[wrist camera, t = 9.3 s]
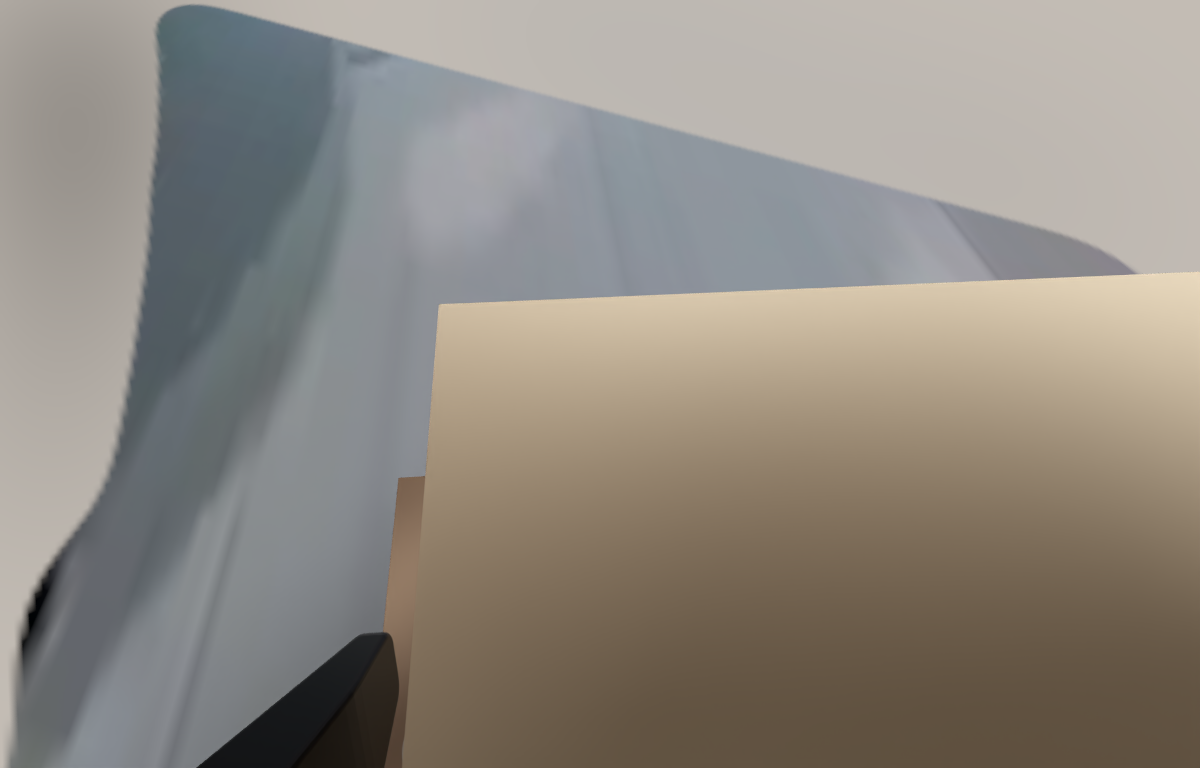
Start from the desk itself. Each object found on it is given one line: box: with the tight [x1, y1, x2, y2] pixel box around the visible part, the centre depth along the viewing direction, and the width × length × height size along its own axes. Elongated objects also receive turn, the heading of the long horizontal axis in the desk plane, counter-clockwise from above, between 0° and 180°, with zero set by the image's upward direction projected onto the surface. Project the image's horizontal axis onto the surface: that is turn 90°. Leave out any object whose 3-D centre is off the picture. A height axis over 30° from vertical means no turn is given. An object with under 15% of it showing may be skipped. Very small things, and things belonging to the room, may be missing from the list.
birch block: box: [402, 272, 1200, 768], centre depth 9 cm, size 5×5×14 cm
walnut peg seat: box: [383, 476, 425, 768], centre depth 14 cm, size 14×14×4 cm
